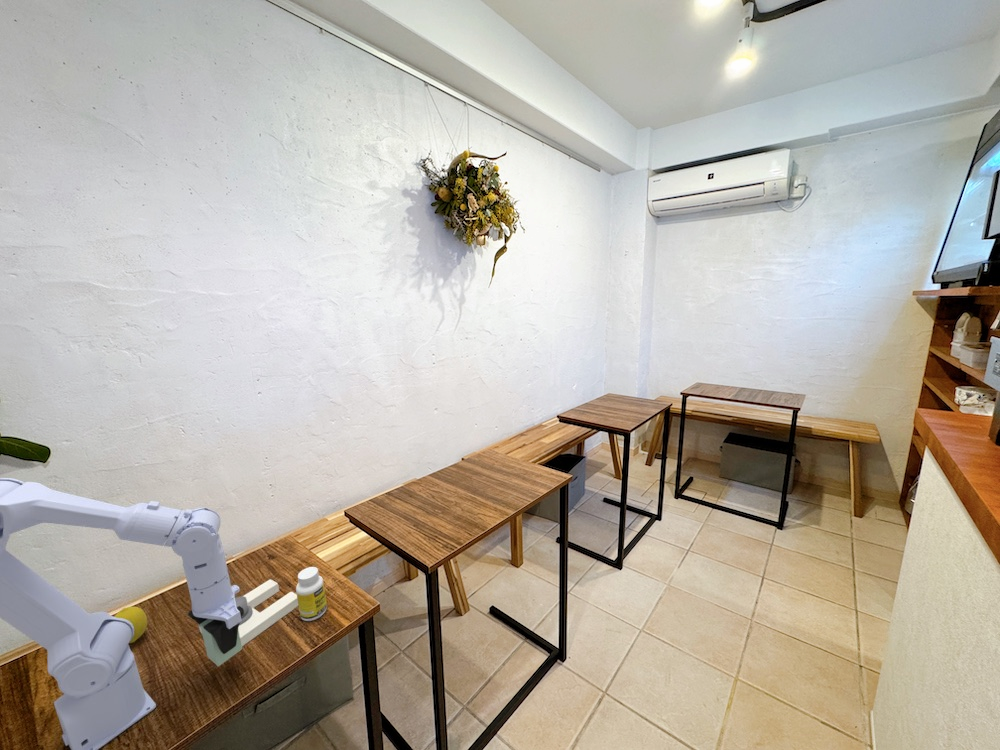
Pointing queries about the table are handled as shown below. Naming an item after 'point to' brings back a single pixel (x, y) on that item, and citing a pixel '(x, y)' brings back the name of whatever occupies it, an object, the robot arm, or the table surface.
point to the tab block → (213, 648)
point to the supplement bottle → (311, 594)
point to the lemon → (134, 620)
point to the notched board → (261, 621)
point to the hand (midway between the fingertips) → (223, 644)
